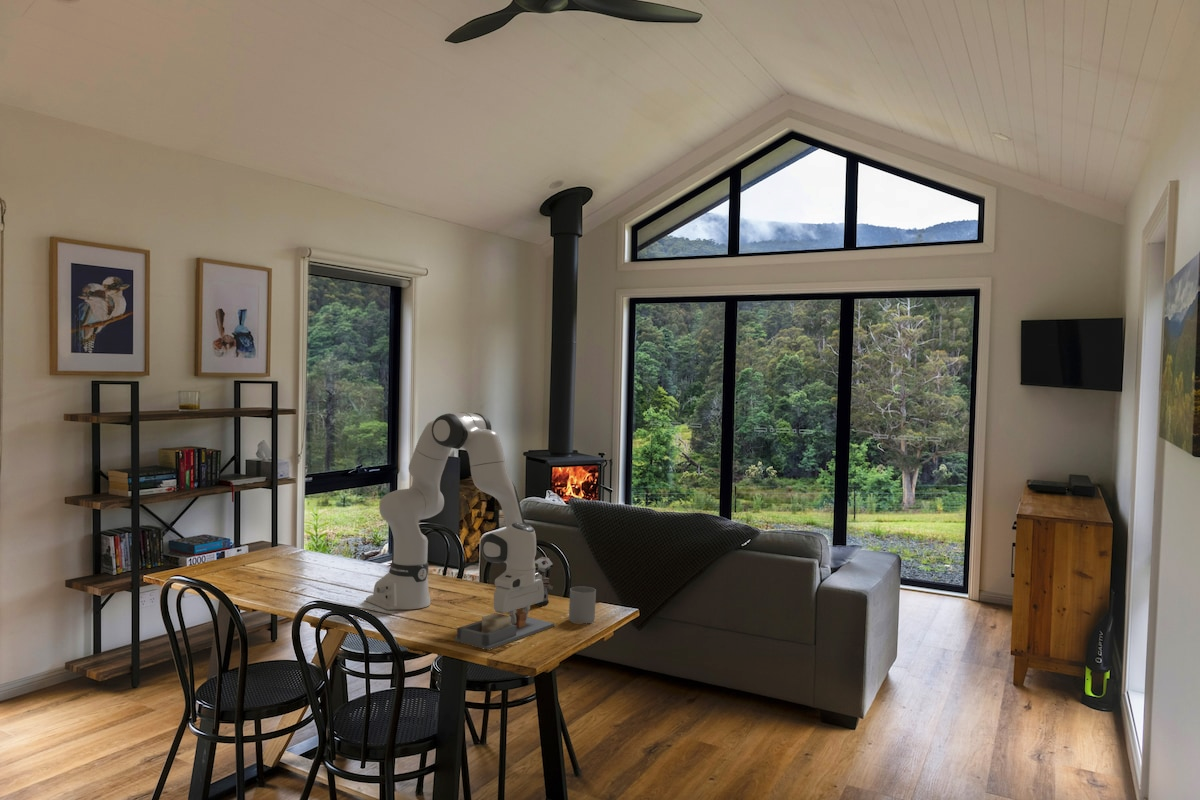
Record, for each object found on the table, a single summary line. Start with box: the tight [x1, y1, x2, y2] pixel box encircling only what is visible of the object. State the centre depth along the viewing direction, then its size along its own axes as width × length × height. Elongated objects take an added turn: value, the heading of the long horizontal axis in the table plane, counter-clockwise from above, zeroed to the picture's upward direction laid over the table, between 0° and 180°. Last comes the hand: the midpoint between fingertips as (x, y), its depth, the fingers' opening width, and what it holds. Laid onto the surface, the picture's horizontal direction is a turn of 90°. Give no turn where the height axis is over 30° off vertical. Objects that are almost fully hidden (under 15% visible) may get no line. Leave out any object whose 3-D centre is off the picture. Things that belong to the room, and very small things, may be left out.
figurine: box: [534, 556, 554, 607], centre depth 284 cm, size 9×12×15 cm
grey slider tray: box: [453, 616, 555, 651], centre depth 246 cm, size 13×31×4 cm, turn 146°
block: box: [481, 610, 526, 633], centre depth 246 cm, size 6×15×5 cm, turn 146°
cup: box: [568, 585, 597, 625], centre depth 264 cm, size 8×8×10 cm
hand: (518, 621), depth 251 cm, fingers closed on block, 3 cm apart
